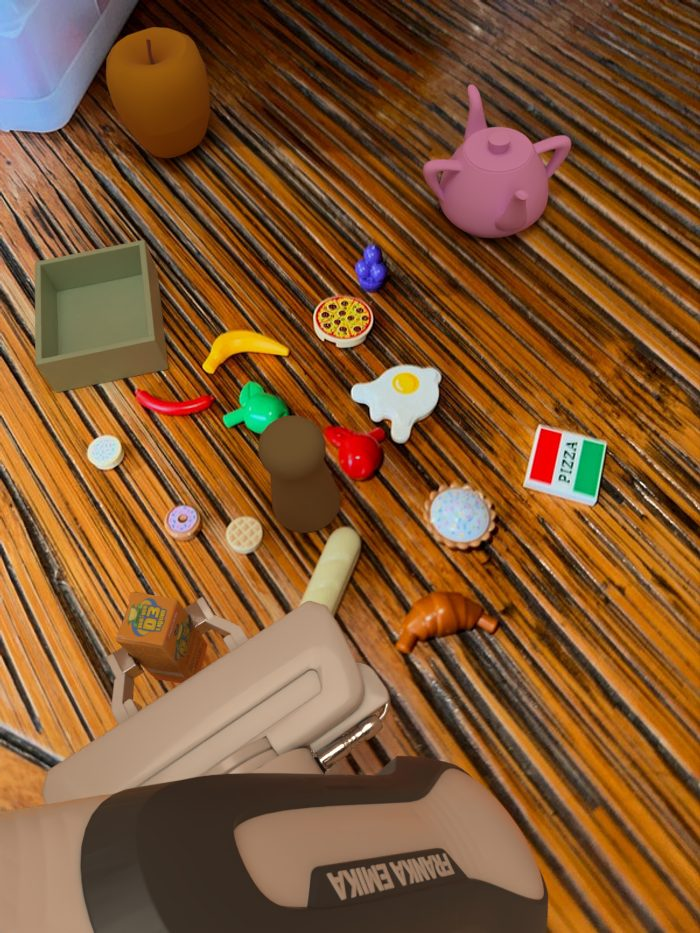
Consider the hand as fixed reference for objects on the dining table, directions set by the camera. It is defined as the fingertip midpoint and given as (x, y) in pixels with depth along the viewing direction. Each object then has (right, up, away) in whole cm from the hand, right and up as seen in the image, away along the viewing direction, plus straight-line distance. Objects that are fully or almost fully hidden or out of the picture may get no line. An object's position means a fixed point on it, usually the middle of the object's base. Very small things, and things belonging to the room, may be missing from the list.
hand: (156, 628), depth 51 cm
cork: (+9, +8, +16) cm, 20 cm away
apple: (-8, +49, +40) cm, 64 cm away
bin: (-12, +25, +27) cm, 38 cm away
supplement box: (+1, -3, +5) cm, 6 cm away
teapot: (+28, +39, +32) cm, 58 cm away
